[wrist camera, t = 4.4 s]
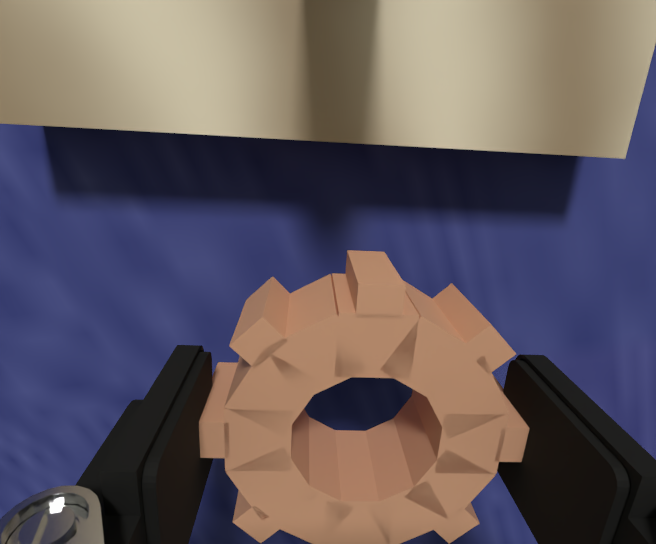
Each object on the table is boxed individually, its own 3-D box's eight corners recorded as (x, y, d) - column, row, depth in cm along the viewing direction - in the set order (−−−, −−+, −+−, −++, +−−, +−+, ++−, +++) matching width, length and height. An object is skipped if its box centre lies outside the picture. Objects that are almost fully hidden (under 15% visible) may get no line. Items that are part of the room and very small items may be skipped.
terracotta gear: (510, 256, 10) (567, 291, 8) (465, 488, 13) (499, 566, 10) (214, 244, 10) (187, 276, 8) (221, 486, 12) (201, 566, 10)
